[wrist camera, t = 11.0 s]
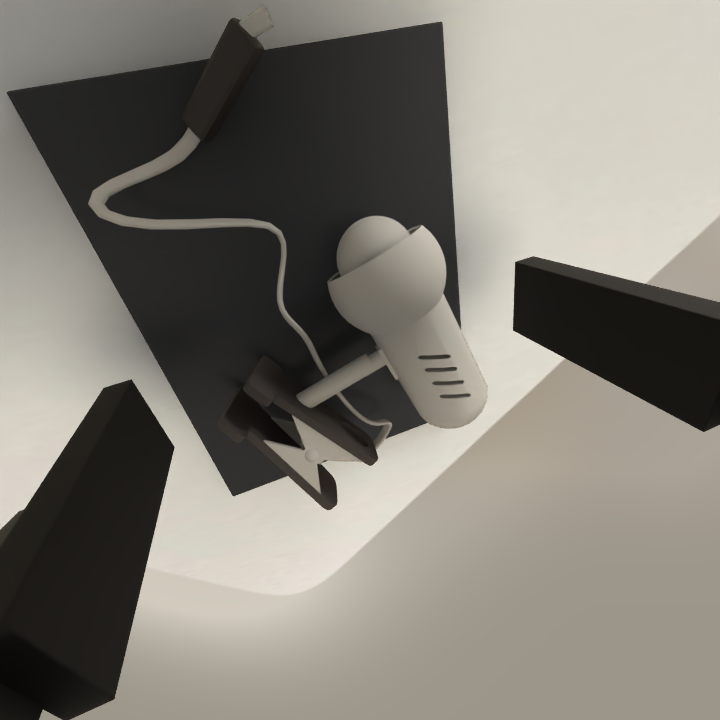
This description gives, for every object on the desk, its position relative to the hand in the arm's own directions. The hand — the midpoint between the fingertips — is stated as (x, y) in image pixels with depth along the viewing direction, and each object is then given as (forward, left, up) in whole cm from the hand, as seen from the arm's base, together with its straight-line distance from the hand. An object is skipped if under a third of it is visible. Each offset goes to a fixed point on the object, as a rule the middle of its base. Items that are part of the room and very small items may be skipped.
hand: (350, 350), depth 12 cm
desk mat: (0, 0, -7) cm, 7 cm away
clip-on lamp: (0, 0, -7) cm, 7 cm away
